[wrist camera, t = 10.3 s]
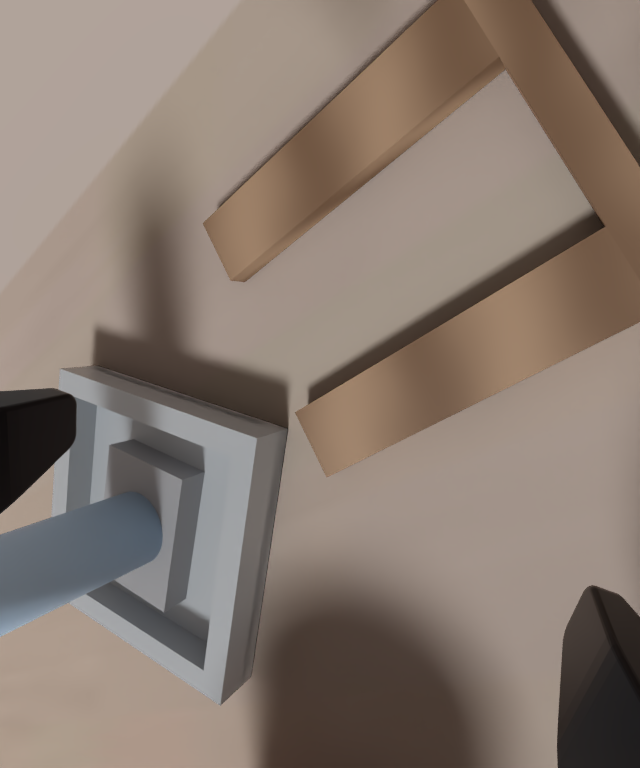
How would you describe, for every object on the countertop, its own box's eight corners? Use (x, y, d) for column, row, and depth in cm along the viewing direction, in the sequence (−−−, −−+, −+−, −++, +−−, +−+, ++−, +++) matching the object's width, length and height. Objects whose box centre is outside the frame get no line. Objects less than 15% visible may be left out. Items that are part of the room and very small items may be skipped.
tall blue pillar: (133, 439, 28) (-293, 539, 15) (204, 471, 26) (-228, 624, 13) (119, 557, 29) (-278, 740, 17) (186, 598, 27) (-216, 848, 14)
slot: (501, -37, 18) (495, -55, 17) (711, 285, 16) (716, 284, 15) (217, 226, 25) (202, 223, 24) (338, 471, 23) (326, 477, 22)
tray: (250, 677, 27) (220, 705, 25) (82, 572, 33) (47, 588, 31) (288, 428, 24) (256, 438, 22) (97, 365, 30) (60, 368, 28)
